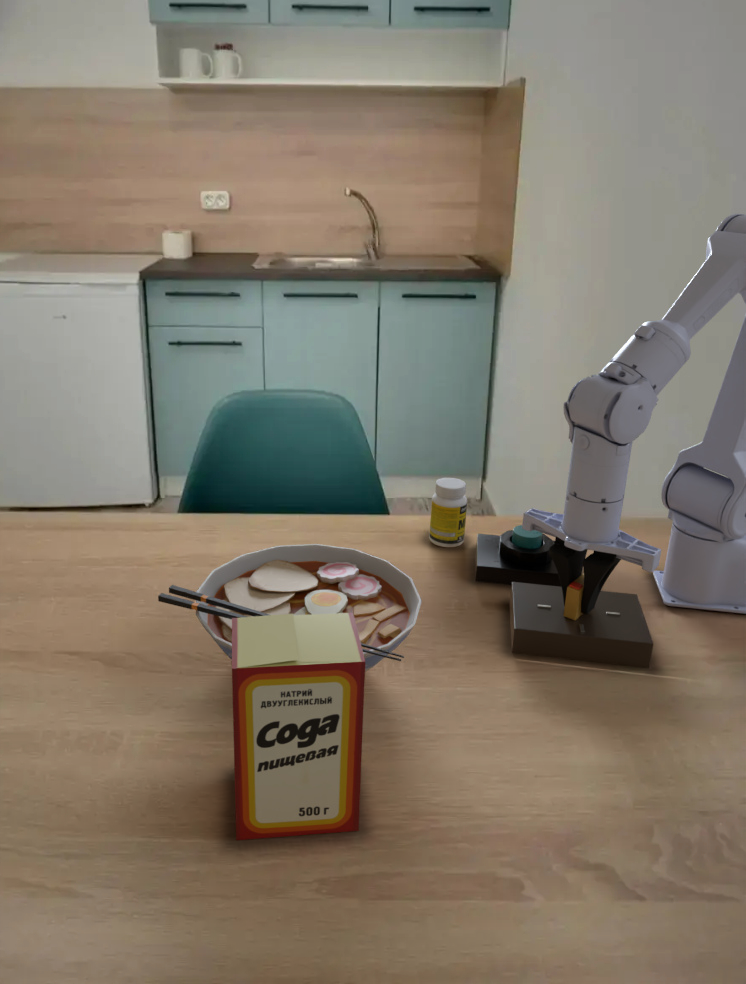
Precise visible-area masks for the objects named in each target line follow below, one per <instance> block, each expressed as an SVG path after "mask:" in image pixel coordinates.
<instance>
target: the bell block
mask: <svg viewBox="0 0 746 984" xmlns="http://www.w3.org/2000/svg"><path fill="white" fill-rule="evenodd" d="M476 536H477V537H476V544H475V545H476V546H475V576H474V578H475V582H477V583H478V582H479V583H489V584H498V585H508V586H511V585H512V582H519V583H529V584H539V585H549V586H559V587H561V582H560V578H559V575H558V572H557V569H556V567H555V564H554V562H553V560H552V558H551V557H550V554H549V549H550V547H551V546H552V545H554V542H555V540H553V539H552V538H551V537H549V535H548V536H547V534H544V533H543V534H542V542H541V547H540V548H534V549H528V548H521V547H519V546H516V545H514V544H513V543H512V536H513V529H509V530H506V531H504V532H503V533H501V534H499V535H497V534H486V533H477V535H476Z"/></svg>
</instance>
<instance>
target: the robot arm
mask: <svg viewBox="0 0 746 984" xmlns="http://www.w3.org/2000/svg"><path fill="white" fill-rule="evenodd" d="M706 242H707V243H706V248H705V249H706V250H705V260H704V262H703V263H702V265H701V266H700V267H699V269H698V270H697V271H696V273H695V274H694V275H693V277H692V278H691V279H690V281H689V282H688V284H687V285H686V286H685V287H684V288H683V290H682V292H680V294H679V295H678V297H677V298H676V299H675V301H674V302H673V304H672V305H671V306H670V307H669V309H668V310H667V312H666V313H665V314H664V316H663V317H662V318H661V319H658V320H649V321H645V322H643V323H642V324H641V325H640V326H638V327H637V329H636V330H635V331H634V332H633V334H632V335H631V337H629V339H628V340H627V341H626V342H625V343H624V344H623V345H622V346H621V347H620V349H618V351H617V352H616V353H615V354H614V355H613V357H612V358H611V359H610V360H609V361H608V362H607V363H606V364H605V366H604V367H603V368H602V369H601V370H600V371H599V372H598V374H591V375H590V376H586V377H584V378H582V379H579V381H577V382H576V383H575V384H574V385H573V387H572V389H571V390H570V392H569V395H568V397H567V401H564V402H563V415H564V418H565V420H566V422H567V424H568V428H569V429H568V430H569V431H568V440H569V442H570V443H571V444H572V445H571V451H570V460H569V468H568V476H567V483H566V490H565V491H566V492H565V500H564V505H563V507H564V508H563V513H558V512H551V511H545V510H541V509H537V508H534V507H531V508H529V509H528V510H527V511H524V513H523V515H522V524H521V525H522V529H524V530H527V531H532V530H535V531H538V532H541V533H543V534H545V535H546V536H547V535H548V536H550V537H554V541H555V542H554V545H552V546H551V547H550V549H549V554H550V557H551V558H552V560H553V562H554V564H555V567H556V569H557V572H558V575H559V578H560V582H561V587H562V593H563V600H564V606H565V600H566V593H567V587H568V586H569V585H570V584H571V583H572V582H573V581H575V580H576V579H577V578H579V577H580V576H581V575H582V574H583V573H584V589H583V595H582V600H581V613H584V614H588V613H589V612H590V611H591V610H592V609H593V608H594V607H595V604H596V601H597V598H598V596H599V593H600V591H602V589H603V588H604V585H605V583H606V582H607V580H608V578H609V577H610V576H611V574H612V573H613V572H614V570H615V568H616V567H617V565H618V564H619V563H620V562H621V561H625V562H627V563H631V564H634V565H637V566H640V567H641V569H642V570H643V571H645V572H648V573H652V576H653V579H654V581H655V583H656V587H657V589H658V591H659V594H660V596H661V600H662V602H663V604H664V605H665V606H669V607H674V608H675V607H677V608H685V609H686V608H687V609H694V610H695V609H697V610H706V611H716V612H723V613H724V612H726V613H733V614H734V613H736V614H745V615H746V314H745V315H744V318H743V321H742V324H741V327H740V329H739V333H738V336H737V337H736V341H735V345H734V348H733V350H732V353H731V357H730V359H729V362H728V364H727V368H726V371H725V374H724V376H723V380H722V382H721V386H720V389H719V391H718V393H717V397H716V400H715V404H714V406H713V409H712V412H711V415H710V418H709V421H708V424H707V427H706V430H705V432H704V436H703V438H702V441H701V442H699V443H697V444H694V445H692V446H689V447H687V448H684V449H682V450H680V451H679V452H678V455H677V458H676V461H675V462H674V464H673V466H672V468H671V469H670V470H669V472H668V473H667V474H666V476H665V478H664V480H663V482H662V485H661V493H660V494H661V502H662V504H663V506H664V508H665V509H667V510H668V513H667V519H669V520H670V521H672V523H671V528H670V533H669V541H668V546H667V550H666V556H665V562H664V568H663V570H657V568H658V567H659V566H660V561H661V555H662V549H661V548H659V547H657V546H654V545H651V544H649V543H646V542H645V541H643V540H641V539H640V538H639V539H638V538H637V537H635V536H633V535H631V534H629V533H627V532H625V531H623V530H621V529H620V524H621V517H622V513H623V505H624V500H625V494H626V493H625V492H626V486H627V479H628V473H629V467H630V461H631V455H632V449H633V448H632V447H633V443H634V442H633V441H635V440H637V439H638V438H639V436H641V435H642V434H644V433H645V431H646V429H647V428H648V425H649V424H650V422H651V418H652V414H653V411H654V409H655V407H656V406H657V405H658V403H657V402H658V401H659V397H658V395H659V394H660V393H661V392H662V391H663V390H664V388H665V387H666V386H667V385H668V384H669V383H670V381H671V380H672V379H673V378H674V377H675V376H676V375H677V373H678V372H679V371H680V370H681V369H682V368H683V367H684V365H686V363H687V362H688V361H689V360H690V358H691V354H692V352H691V351H692V349H691V343H690V342H691V340H692V338H693V337H695V336H696V335H697V334H698V333H699V332H700V331H701V330H702V329H703V328H704V327H705V326H706V325H707V324H708V323H709V322H710V321H711V320H712V319H713V318H714V317H715V316H716V315H717V314H718V313H719V312H720V311H721V310H722V309H723V308H724V307H725V306H726V305H727V304H729V303H730V301H731V300H733V299H734V298H735V296H737V295H738V294H739V295H740V296H741V298H742V300H743V302H744V305H746V214H744V213H739V212H737V213H732V214H729V215H728V216H726V217H725V218H723V220H722V221H721V222H720V223H719V224H718V226H717V228H716V229H715V231H714V232H713V233H712V234H711V235H710V236H709V237H708V238H707V241H706ZM588 551H593V553H590V554H589V555H588V556H587V554H588Z"/></svg>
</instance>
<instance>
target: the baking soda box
mask: <svg viewBox="0 0 746 984" xmlns="http://www.w3.org/2000/svg"><path fill="white" fill-rule="evenodd" d="M231 677H232V678H231V684H232V685H231V687H232V688H231V690H232V691H231V692H232V724H233V726H232V728H233V763H234V765H233V766H234V769H233V770H234V801H235V802H234V803H235V805H234V807H235V839H236V841H244V840H245V841H246V840H259V839H270V838H271V839H272V838H283V837H296V836H297V837H299V836H308V835H321V834H335V833H346V832H347V833H348V832H359V828H360V827H359V826H360V805H361V804H360V803H361V802H360V801H361V782H362V781H361V780H362V779H361V778H362V755H363V753H362V752H363V732H364V708H365V706H364V705H365V683H366V682H365V681H366V672H365V658H364V654H363V650H362V646H361V642H360V638H359V634H358V630H357V626H356V623H355V619H354V615H353V613H333V614H312V615H293V614H281V615H267V616H254V617H241V618H232V660H231Z"/></svg>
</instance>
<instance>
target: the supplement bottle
mask: <svg viewBox="0 0 746 984" xmlns="http://www.w3.org/2000/svg"><path fill="white" fill-rule="evenodd" d="M466 493H467V483H466V482H465V481H464V480H462V479H460V478H456V477H441V478H438V479H437V480H436V481H435V487H434V493H433V495H432V496H431V504H430V505H431V506H430V519H429V531H428V539H429V541H430V542H431V543H432V544H433V545H435V546H438V547H442V548H456V547H459V546H461V545H462V544H463V543H464V541H465V533H466V522H467V521H466V520H467V509H468V498H467V496H466Z"/></svg>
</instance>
